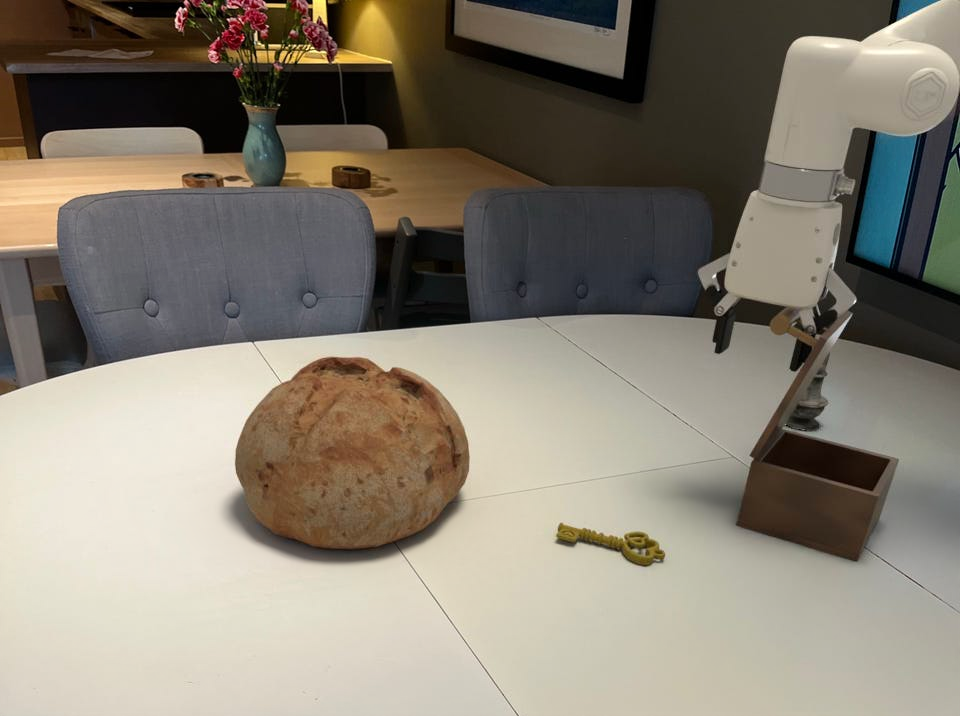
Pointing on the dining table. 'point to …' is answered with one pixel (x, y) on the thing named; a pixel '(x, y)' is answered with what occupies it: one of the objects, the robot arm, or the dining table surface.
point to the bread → (351, 455)
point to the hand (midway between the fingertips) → (758, 358)
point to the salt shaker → (810, 403)
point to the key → (617, 543)
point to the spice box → (816, 493)
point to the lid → (806, 374)
